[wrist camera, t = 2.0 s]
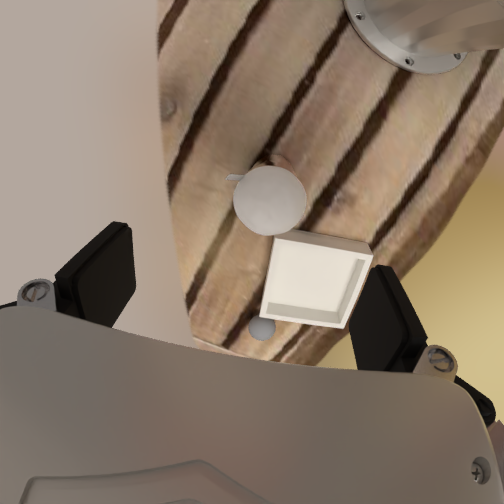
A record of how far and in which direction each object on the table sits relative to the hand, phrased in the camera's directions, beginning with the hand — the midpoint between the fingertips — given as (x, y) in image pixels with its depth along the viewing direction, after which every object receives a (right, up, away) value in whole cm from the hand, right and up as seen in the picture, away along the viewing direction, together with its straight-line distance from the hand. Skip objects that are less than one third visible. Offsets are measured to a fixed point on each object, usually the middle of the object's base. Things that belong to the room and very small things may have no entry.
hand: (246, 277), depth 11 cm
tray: (+6, -1, +19) cm, 20 cm away
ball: (+1, -7, +23) cm, 24 cm away
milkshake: (+2, +8, +14) cm, 17 cm away
